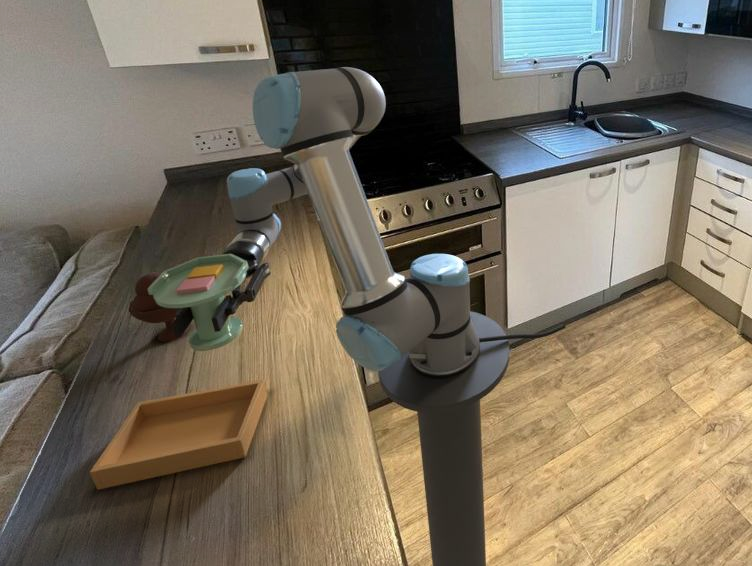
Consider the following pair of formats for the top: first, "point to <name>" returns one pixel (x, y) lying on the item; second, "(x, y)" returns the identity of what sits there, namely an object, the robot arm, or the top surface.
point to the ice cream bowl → (152, 308)
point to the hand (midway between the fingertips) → (196, 327)
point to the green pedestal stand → (203, 298)
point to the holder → (182, 434)
